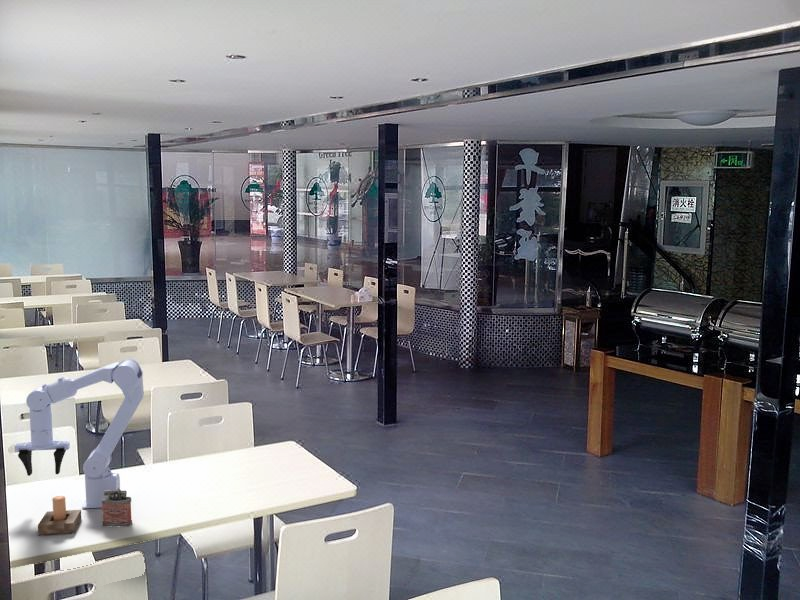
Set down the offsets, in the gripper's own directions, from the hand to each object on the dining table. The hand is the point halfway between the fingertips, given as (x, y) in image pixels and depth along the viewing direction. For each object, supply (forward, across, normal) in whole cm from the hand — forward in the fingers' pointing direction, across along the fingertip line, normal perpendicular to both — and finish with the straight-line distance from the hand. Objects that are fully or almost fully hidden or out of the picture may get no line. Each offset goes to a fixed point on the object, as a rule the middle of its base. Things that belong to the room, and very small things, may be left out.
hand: (43, 473), depth 222 cm
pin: (+9, +8, -16) cm, 20 cm away
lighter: (+10, +23, -16) cm, 30 cm away
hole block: (+10, +8, -16) cm, 20 cm away
